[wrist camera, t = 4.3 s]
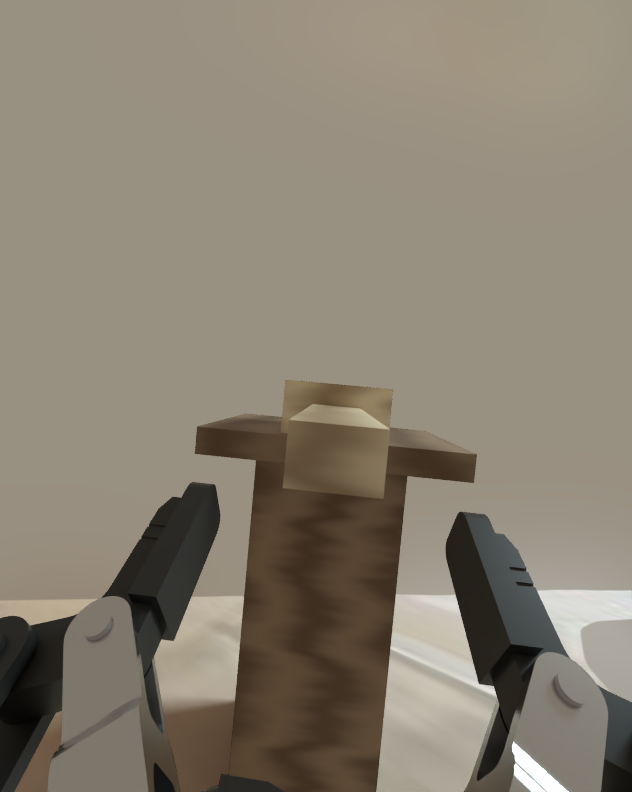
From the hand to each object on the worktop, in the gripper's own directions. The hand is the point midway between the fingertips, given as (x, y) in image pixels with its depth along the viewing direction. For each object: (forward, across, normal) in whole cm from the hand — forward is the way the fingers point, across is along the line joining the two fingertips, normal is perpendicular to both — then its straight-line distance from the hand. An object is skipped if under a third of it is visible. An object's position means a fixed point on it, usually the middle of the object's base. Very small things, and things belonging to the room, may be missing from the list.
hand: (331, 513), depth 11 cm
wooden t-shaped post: (0, 0, +37) cm, 37 cm away
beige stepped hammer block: (+10, 0, +5) cm, 11 cm away
